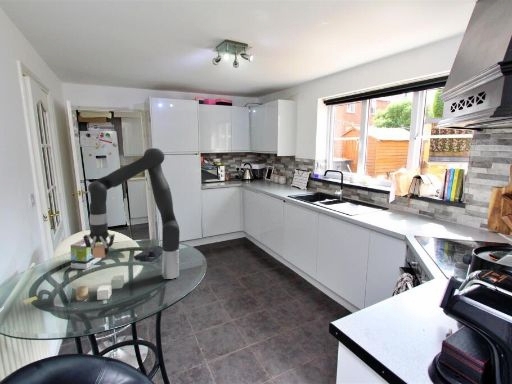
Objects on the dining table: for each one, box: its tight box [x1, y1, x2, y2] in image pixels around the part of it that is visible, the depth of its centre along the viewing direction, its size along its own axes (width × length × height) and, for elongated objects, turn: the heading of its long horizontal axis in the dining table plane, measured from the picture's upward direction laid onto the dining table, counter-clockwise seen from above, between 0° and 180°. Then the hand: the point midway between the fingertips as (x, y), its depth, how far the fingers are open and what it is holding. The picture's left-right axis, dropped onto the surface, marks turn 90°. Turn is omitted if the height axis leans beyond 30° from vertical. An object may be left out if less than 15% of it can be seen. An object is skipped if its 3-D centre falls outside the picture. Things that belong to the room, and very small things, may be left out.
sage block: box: [110, 274, 125, 290], centre depth 144 cm, size 5×5×5 cm
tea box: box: [70, 237, 102, 270], centre depth 167 cm, size 15×10×15 cm, turn 179°
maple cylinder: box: [75, 285, 89, 302], centre depth 132 cm, size 5×5×5 cm
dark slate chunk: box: [133, 245, 162, 262], centre depth 187 cm, size 15×22×5 cm
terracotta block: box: [92, 243, 107, 259], centre depth 135 cm, size 5×5×5 cm
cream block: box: [96, 284, 113, 301], centre depth 134 cm, size 5×5×5 cm
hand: (100, 254), depth 135 cm, fingers closed on terracotta block, 5 cm apart
